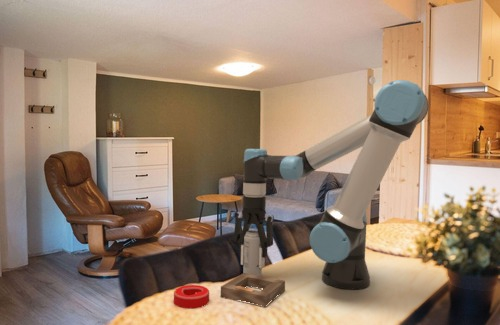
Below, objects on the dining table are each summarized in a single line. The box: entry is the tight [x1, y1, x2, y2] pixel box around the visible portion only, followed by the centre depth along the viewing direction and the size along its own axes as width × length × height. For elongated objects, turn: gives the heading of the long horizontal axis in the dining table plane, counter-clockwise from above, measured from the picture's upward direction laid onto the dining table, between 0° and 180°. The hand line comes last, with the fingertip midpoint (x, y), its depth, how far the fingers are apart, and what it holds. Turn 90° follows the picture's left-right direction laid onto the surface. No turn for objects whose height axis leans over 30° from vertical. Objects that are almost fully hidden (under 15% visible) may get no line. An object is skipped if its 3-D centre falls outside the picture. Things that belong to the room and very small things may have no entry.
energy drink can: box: [242, 229, 263, 276], centre depth 126 cm, size 6×6×15 cm
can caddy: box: [220, 273, 286, 307], centre depth 111 cm, size 14×14×3 cm
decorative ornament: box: [173, 284, 210, 310], centre depth 105 cm, size 10×10×3 cm
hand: (252, 265), depth 126 cm, fingers closed on energy drink can, 6 cm apart
